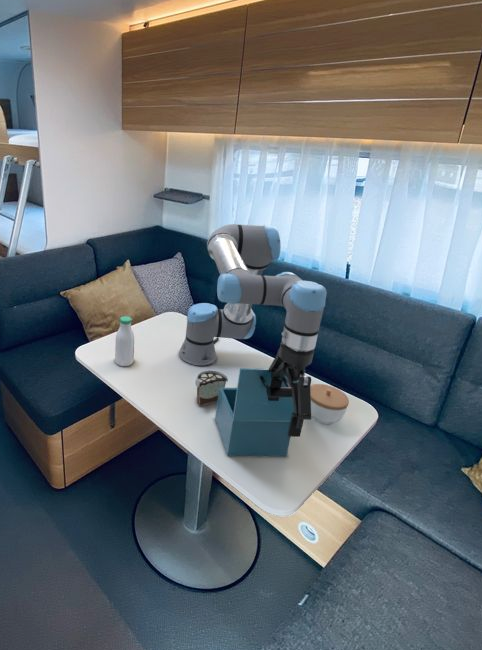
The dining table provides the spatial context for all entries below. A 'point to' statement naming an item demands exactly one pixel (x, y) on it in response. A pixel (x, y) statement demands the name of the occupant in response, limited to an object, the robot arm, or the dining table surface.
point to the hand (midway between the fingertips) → (282, 416)
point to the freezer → (249, 431)
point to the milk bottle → (124, 343)
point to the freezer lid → (262, 397)
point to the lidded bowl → (327, 403)
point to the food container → (209, 386)
